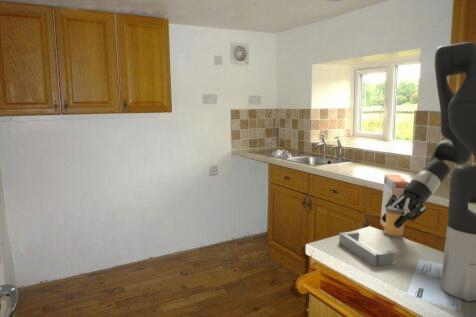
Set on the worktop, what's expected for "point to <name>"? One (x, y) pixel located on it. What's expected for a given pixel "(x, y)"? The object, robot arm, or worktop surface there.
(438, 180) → the robot arm
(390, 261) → the duct tray
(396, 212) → the orange cylinder
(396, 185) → the cracker box
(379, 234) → the worktop surface
